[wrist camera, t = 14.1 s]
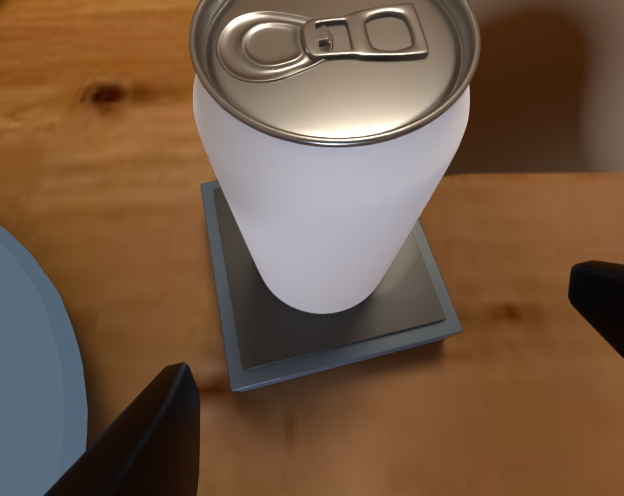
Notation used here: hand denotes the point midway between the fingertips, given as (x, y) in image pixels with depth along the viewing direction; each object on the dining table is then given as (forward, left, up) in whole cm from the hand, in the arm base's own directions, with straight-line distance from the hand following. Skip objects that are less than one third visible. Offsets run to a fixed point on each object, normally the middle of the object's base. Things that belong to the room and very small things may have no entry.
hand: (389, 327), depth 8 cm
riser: (+3, +5, -12) cm, 13 cm away
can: (+3, +4, -9) cm, 10 cm away
